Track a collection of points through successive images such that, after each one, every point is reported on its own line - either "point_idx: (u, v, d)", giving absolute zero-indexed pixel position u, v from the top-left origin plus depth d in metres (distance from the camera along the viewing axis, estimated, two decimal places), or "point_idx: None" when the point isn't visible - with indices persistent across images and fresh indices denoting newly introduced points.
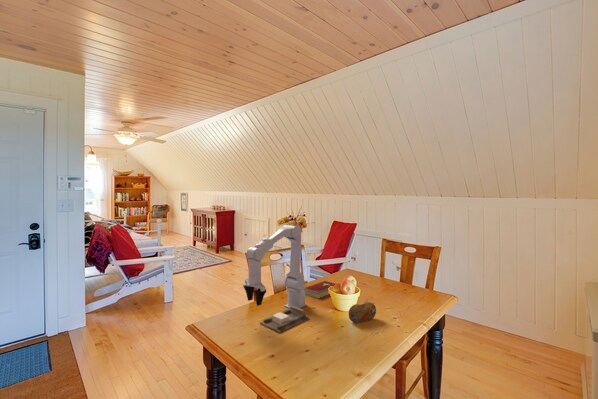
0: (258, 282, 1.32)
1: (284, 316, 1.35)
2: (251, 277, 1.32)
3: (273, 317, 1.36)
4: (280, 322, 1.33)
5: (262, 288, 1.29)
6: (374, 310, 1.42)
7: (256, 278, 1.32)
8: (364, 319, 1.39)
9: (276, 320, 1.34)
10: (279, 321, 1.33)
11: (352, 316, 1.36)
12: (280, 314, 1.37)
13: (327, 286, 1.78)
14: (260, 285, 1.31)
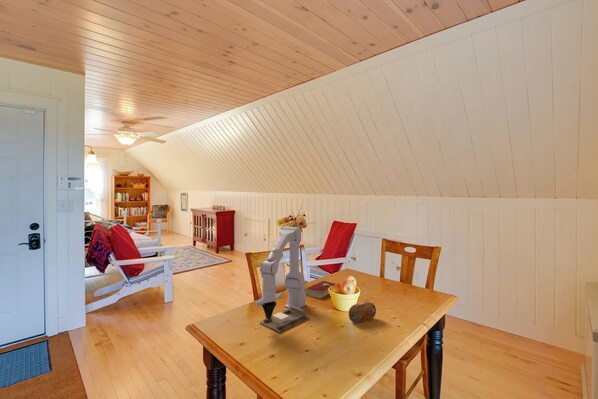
0: (264, 297, 1.28)
1: (284, 316, 1.35)
2: None
3: (273, 317, 1.36)
4: (280, 322, 1.33)
5: (255, 303, 1.25)
6: (374, 310, 1.42)
7: (263, 292, 1.28)
8: (364, 319, 1.39)
9: (276, 320, 1.34)
10: (279, 321, 1.33)
11: (352, 316, 1.36)
12: (280, 314, 1.37)
13: (327, 286, 1.79)
14: (260, 300, 1.26)
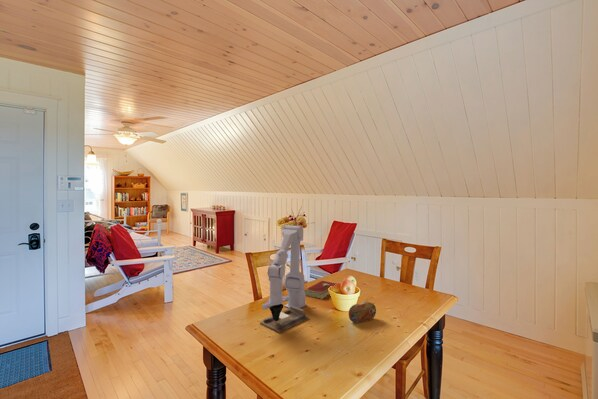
0: (271, 300, 1.31)
1: (285, 316, 1.35)
2: None
3: None
4: (281, 322, 1.33)
5: (263, 306, 1.28)
6: (374, 310, 1.42)
7: (270, 295, 1.32)
8: (364, 319, 1.39)
9: None
10: (280, 321, 1.33)
11: (352, 316, 1.36)
12: (281, 314, 1.38)
13: (327, 286, 1.79)
14: (267, 303, 1.30)
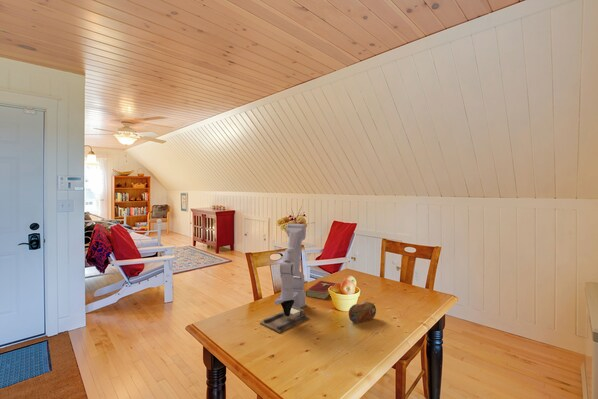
0: (283, 296, 1.36)
1: (295, 311, 1.41)
2: None
3: None
4: (292, 317, 1.38)
5: (275, 301, 1.34)
6: (374, 310, 1.42)
7: (282, 291, 1.37)
8: (364, 319, 1.39)
9: None
10: (291, 316, 1.38)
11: (352, 316, 1.36)
12: (291, 309, 1.43)
13: (327, 286, 1.79)
14: (279, 299, 1.35)
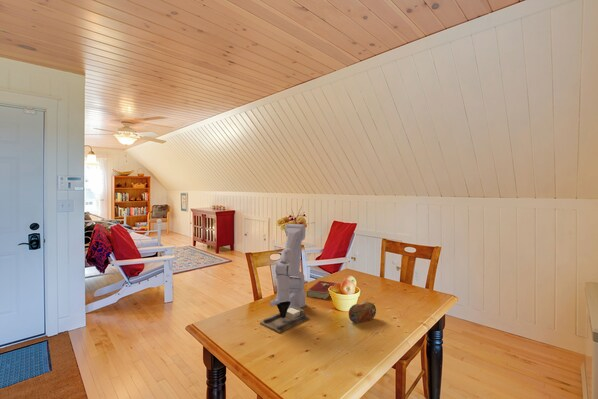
0: (279, 297, 1.35)
1: (295, 311, 1.41)
2: None
3: None
4: (292, 317, 1.38)
5: (270, 303, 1.32)
6: (374, 310, 1.42)
7: (277, 292, 1.35)
8: (364, 319, 1.39)
9: (288, 315, 1.40)
10: (291, 316, 1.38)
11: (352, 316, 1.36)
12: (291, 309, 1.43)
13: (327, 286, 1.79)
14: (275, 300, 1.33)
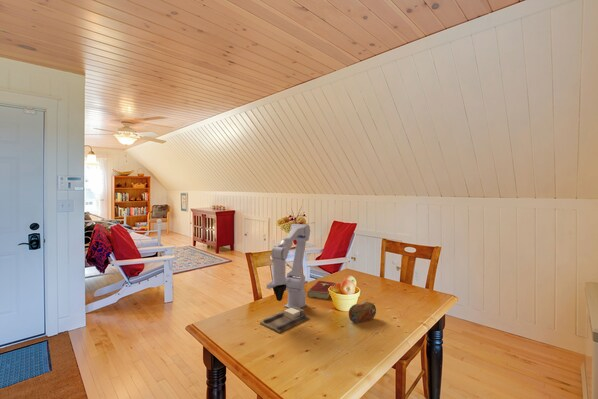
0: (275, 280, 1.37)
1: (295, 311, 1.41)
2: None
3: (285, 312, 1.41)
4: (292, 317, 1.38)
5: (267, 285, 1.34)
6: (374, 310, 1.42)
7: (274, 276, 1.38)
8: (364, 319, 1.39)
9: (288, 315, 1.40)
10: (291, 316, 1.38)
11: (352, 316, 1.36)
12: (291, 309, 1.43)
13: (327, 285, 1.80)
14: (271, 283, 1.36)
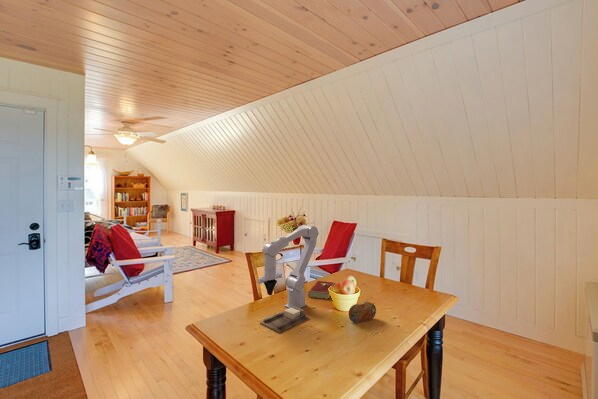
0: (266, 276, 1.44)
1: (295, 311, 1.41)
2: None
3: (285, 312, 1.41)
4: (292, 317, 1.38)
5: (258, 280, 1.41)
6: (374, 310, 1.42)
7: (265, 271, 1.45)
8: (364, 319, 1.39)
9: (288, 315, 1.40)
10: (291, 316, 1.38)
11: (352, 316, 1.36)
12: (291, 309, 1.43)
13: (327, 285, 1.80)
14: (262, 278, 1.43)
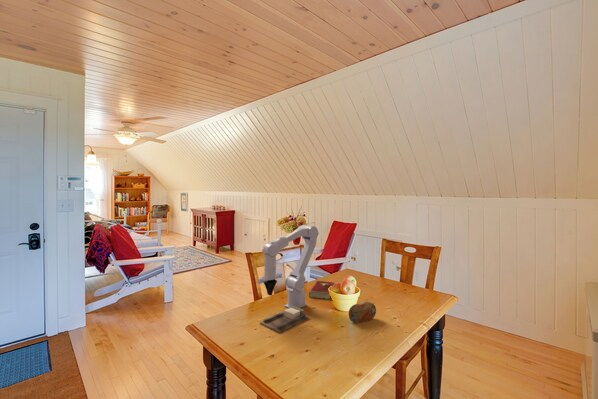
0: (266, 276, 1.44)
1: (295, 311, 1.41)
2: None
3: (285, 312, 1.41)
4: (292, 317, 1.38)
5: (258, 280, 1.41)
6: (374, 310, 1.42)
7: (265, 271, 1.45)
8: (364, 319, 1.39)
9: (288, 315, 1.40)
10: (291, 316, 1.38)
11: (352, 316, 1.36)
12: (291, 309, 1.43)
13: (327, 285, 1.80)
14: (262, 278, 1.43)
